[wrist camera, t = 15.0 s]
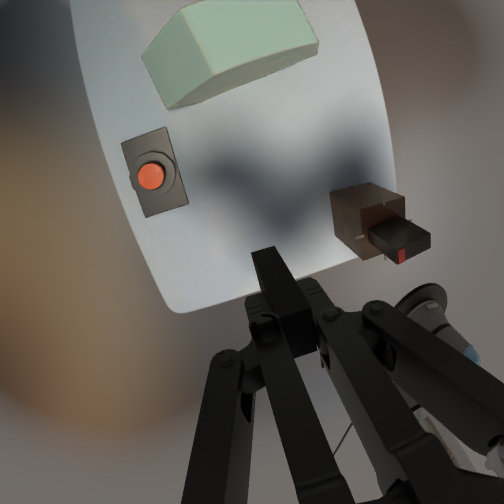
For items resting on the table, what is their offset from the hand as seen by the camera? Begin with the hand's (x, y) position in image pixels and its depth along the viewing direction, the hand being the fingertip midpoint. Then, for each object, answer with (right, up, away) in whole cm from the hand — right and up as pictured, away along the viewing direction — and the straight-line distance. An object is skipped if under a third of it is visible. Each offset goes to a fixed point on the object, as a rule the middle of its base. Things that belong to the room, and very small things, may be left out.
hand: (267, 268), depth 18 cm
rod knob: (+18, +4, +19) cm, 27 cm away
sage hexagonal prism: (-5, +28, +16) cm, 32 cm away
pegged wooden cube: (+16, +8, +28) cm, 34 cm away
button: (-15, +12, +19) cm, 27 cm away
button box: (-15, +13, +21) cm, 29 cm away
